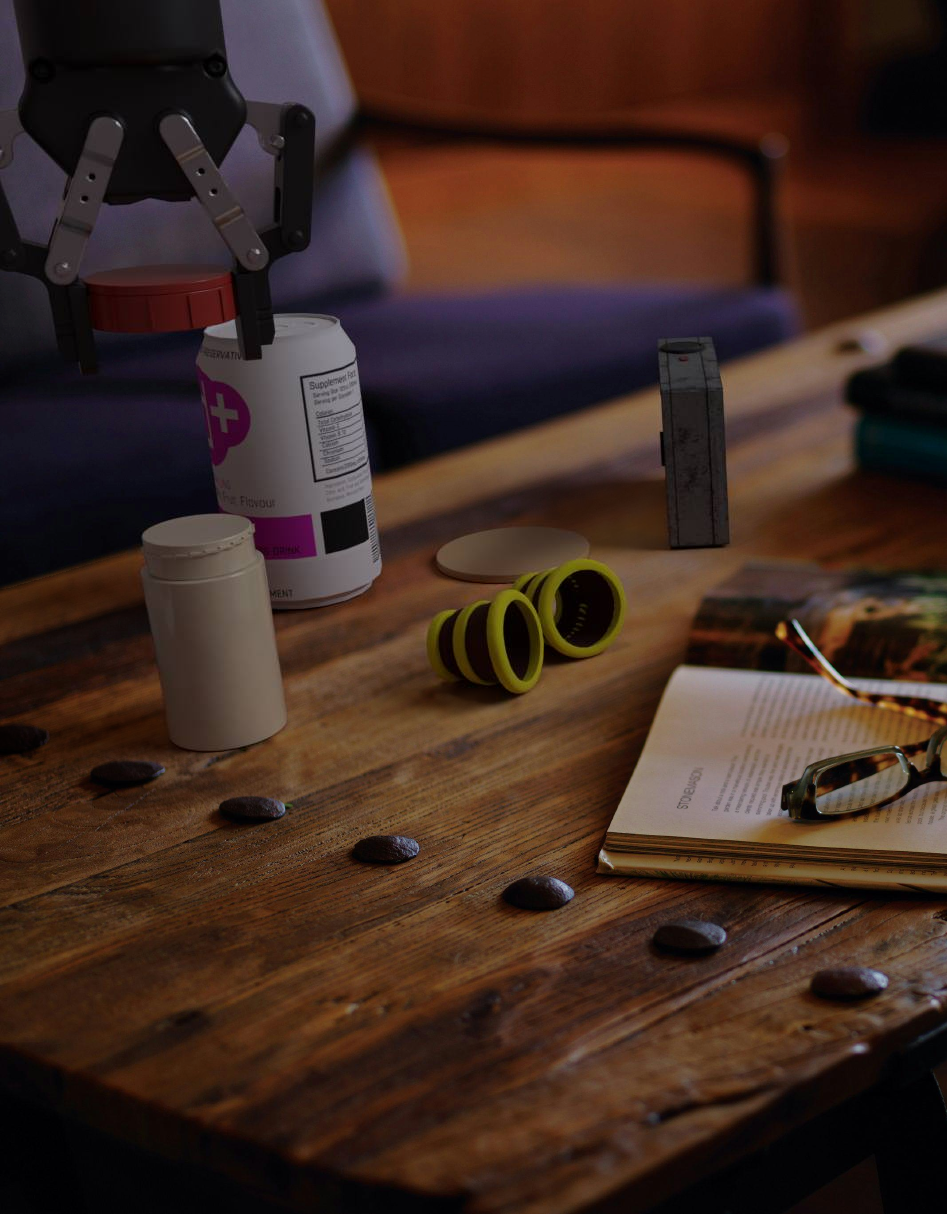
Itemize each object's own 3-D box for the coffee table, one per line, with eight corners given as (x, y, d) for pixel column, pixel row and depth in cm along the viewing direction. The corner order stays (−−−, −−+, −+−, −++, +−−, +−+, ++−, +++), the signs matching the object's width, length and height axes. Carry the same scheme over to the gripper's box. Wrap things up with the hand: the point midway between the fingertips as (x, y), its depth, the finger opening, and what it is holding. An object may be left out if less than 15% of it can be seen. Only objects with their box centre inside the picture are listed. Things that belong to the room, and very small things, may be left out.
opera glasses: (561, 640, 86) (540, 550, 85) (638, 639, 83) (617, 546, 82) (431, 706, 79) (406, 608, 77) (511, 708, 76) (485, 606, 75)
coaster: (428, 587, 92) (427, 578, 92) (445, 537, 101) (445, 530, 101) (587, 578, 93) (587, 570, 93) (592, 530, 101) (591, 522, 101)
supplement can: (252, 624, 87) (209, 347, 82) (221, 580, 94) (179, 322, 89) (400, 595, 91) (368, 328, 86) (360, 555, 98) (328, 306, 93)
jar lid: (206, 333, 65) (199, 286, 64) (63, 333, 65) (55, 286, 65) (259, 307, 71) (253, 263, 70) (127, 307, 71) (120, 263, 70)
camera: (662, 475, 113) (654, 331, 109) (719, 472, 113) (712, 329, 110) (666, 550, 97) (656, 386, 94) (732, 547, 98) (725, 383, 94)
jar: (167, 759, 72) (131, 554, 69) (170, 713, 77) (136, 519, 73) (290, 740, 74) (260, 539, 70) (285, 697, 78) (257, 506, 75)
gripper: (-107, -73, 57) (-16, 402, 63) (316, -70, 62) (362, 364, 68) (-99, -65, 63) (-17, 365, 69) (284, -63, 69) (329, 333, 75)
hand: (172, 363), depth 69 cm, fingers closed on jar lid, 6 cm apart
